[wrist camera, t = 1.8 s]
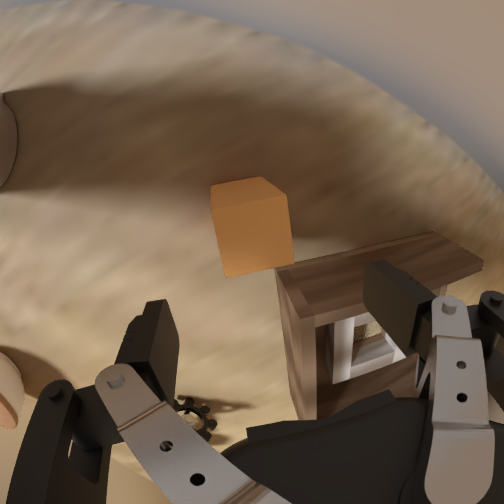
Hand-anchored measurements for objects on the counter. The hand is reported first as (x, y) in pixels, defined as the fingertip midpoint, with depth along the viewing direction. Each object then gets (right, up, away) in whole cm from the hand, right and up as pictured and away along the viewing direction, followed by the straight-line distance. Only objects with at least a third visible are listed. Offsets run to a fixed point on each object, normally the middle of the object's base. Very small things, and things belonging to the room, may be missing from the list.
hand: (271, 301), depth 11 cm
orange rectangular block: (-2, +6, +12) cm, 13 cm away
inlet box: (+11, -6, +18) cm, 22 cm away
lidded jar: (-36, -14, +15) cm, 41 cm away
